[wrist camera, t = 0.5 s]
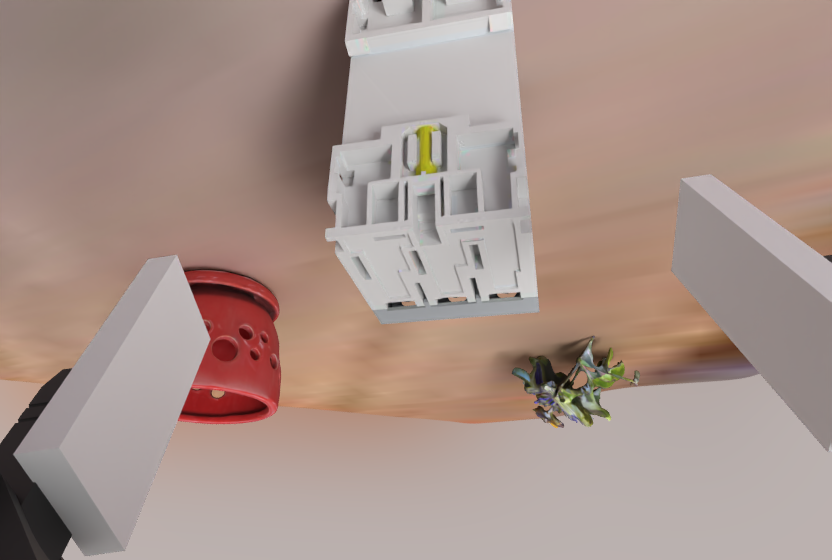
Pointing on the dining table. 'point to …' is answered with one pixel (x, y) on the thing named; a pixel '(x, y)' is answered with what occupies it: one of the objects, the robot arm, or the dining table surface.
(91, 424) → the robot arm
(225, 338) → the plant pot
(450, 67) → the circuit breaker
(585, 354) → the passion flower
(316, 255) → the dining table surface
